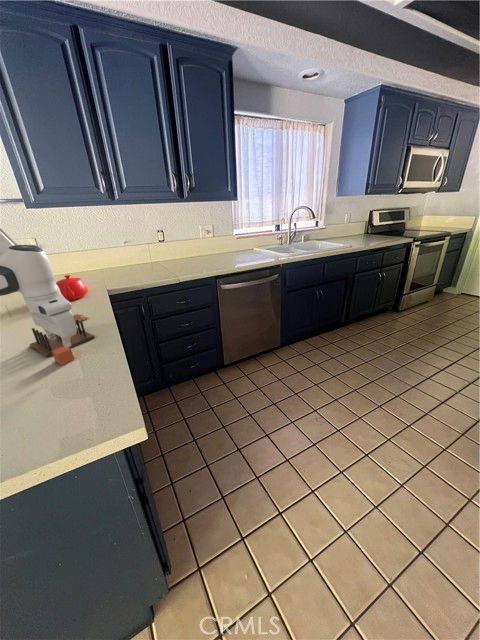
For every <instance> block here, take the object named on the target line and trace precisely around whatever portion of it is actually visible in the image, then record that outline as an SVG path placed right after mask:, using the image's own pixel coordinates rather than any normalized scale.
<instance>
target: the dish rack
mask: <svg viewBox="0 0 480 640" xmlns="http://www.w3.org/2000/svg"><path fill="white" fill-rule="evenodd" d="M74 321H75V320H74ZM76 323H77V324H76ZM76 323H75V325H76V329H77V332H76V335H74V336H71V339H70V342H71V346H70V347H68V348H70V349H72V348H74V347H76V346H80V344H83V343H86V342H88V341H91V340H93V339H95V335H94V334H91V333H90V332H87V331H86V329H85V326H84V323H83V321H80V322H79V321H78V320H76ZM31 331H32V333H33V336H34V339H35V341H34V342H31V343H29V346H30V347H31V348H32V349H34V350H35V351H37V352H39V353H40V354H42V355H44V356H45V357H47V358H51V357H52V356H53V353H52V351H53V350H56V349H58V348H61V347H63V344H62V342H63V340H62V338H61V337H60V336H58V335H56V337H57V338H56V339H55V340H50V339H49V338H48V336H47V334H46V333H44V332H42V331H39V330H38V329H36V328H35V327H33V328H31ZM53 357H54V356H53Z"/></svg>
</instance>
